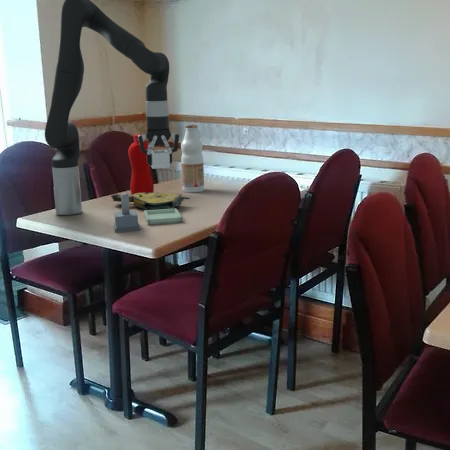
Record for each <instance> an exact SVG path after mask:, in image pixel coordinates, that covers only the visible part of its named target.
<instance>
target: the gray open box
mask: <svg viewBox="0 0 450 450" xmlns="http://www.w3.org/2000/svg"><path fill="white" fill-rule="evenodd" d="M151 163H152V166H150V168H151V169H152V170H153V169H154V170H156V169H170V168H171V164H170V156H169V152H168V151H167V149H159V150H158V149H157V150H156V149H155V150H152V151H151Z"/></svg>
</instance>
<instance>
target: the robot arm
mask: <svg viewBox="0 0 450 450" xmlns="http://www.w3.org/2000/svg"><path fill="white" fill-rule="evenodd" d="M83 28H87V29H90V30H92V31H93V32H96V33H98V34H99V35H101V36H102V38H104V39H105V41H106V40H107V42H108V43H109V44H110V46H111V47H112V48H113V49H115V50H116V51H117V52H119V53H121V54H122V55H123V56H124V57H126V58H127V59H129V60H130V61H132V63H133V64H134V65H135V66H136V67H137V68H139V70H141V71H142V72H144V73H145V74H147V75H149V82H148V83H146V85H145V100H146V101H145V119H146V120H145V121H146V132H145V134H141V135H138V140H139V144H140V149H141V152H142V153H145V154H146V155H147V163H148V164H149V166H150V167H151V166H152V163H151V151H153V150H152V149H154V147H155V146H156V147H157V146H164V147H165V150H167V151H168V152H169V156H170V165H171V164H172V163H173V153H175V152H177V151H178V147H179V140H180V139H179V138H180V135H179V134H178V133H173V132H172V133H171V130H170V113H169V112H170V110H169V104H168V103H169V101H168V82H169V78H170V77H169V75H170V61H169V59H168V57H167V55H166V54H164V53H163V52H160V51H159V52H155V51H152V50H150V49H149V48H148V47H146V45H145V43H144V42H143V41H142V40H141V39H139V38H138V37H137V36H135V35H134V34H132V33H130V32H129V31H128V30H126V29H125V28H123V27H122V26H121V25H119V24H118V23H116V22H115V21H113V20H112V19H111V18H110V17H109V16H108V15H106V14H105V12H103V11H102V10H101V9H100V7H98V6H97V5H96V4H95V3H94V1H92V0H64V1H63V4H62V7H61V13H60V32H59V33H60V36H59V45H58V54H57V62H56V67H55V73H54V80H53V81H54V82H53V90H52V96H51V102H50V107H49V108H50V109H49V112H48V117H47V120H46V123H45V129H44V139H45V142H46V144H47V145H48V147H50V148H52V149H54V150H56V153H55V155H54V156H53V157H52V159H51V168H52V170H51V171H52V172H51V173H52V181H53V195H54V204H55V205H54V206H55V215H56V216H57V215H59V216H60V215H61V216H71V215H76V214H80V213H82V212H83V204H82V192H81V183H80V171H79V159H80V153H81V152H80V136H79V130H78V128H77V126H76V125H75V123H73V122H72V121H70V120H69V118H70V113H71V110H72V107H73V106H74V103H76V99H77V98H78V96H79V94H80V92H81V90H82V86H83V80H84V74H85V64H84V59H83V54H82V51H81V35H82V30H83ZM170 138H171V139H172V140H173V143H172V148H171V146H170V144H169V142H168V141H169V140H170ZM145 140H148V142H149V143H148V144H149V146H148V149H147V150H145V148H144V144H143V141H145Z"/></svg>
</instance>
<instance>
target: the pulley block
mask: <svg viewBox="0 0 450 450" xmlns="http://www.w3.org/2000/svg"><path fill="white" fill-rule="evenodd" d="M121 194H122V193H120V194H117V193H116V194H112V195H110V197H111V199H112V201H113V202H119V203H121ZM128 196H129V204H131V203H133V205H132V206H134V207H137V208H140V209H142V210H144V211H146V210H160V209H174V208H176V207H178V206H181V205H182V202H183V201H184V200H190V197H183V196H182V194H176V193H170V192H153V193H135V194H133V195H132V194H131V195H128Z"/></svg>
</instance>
